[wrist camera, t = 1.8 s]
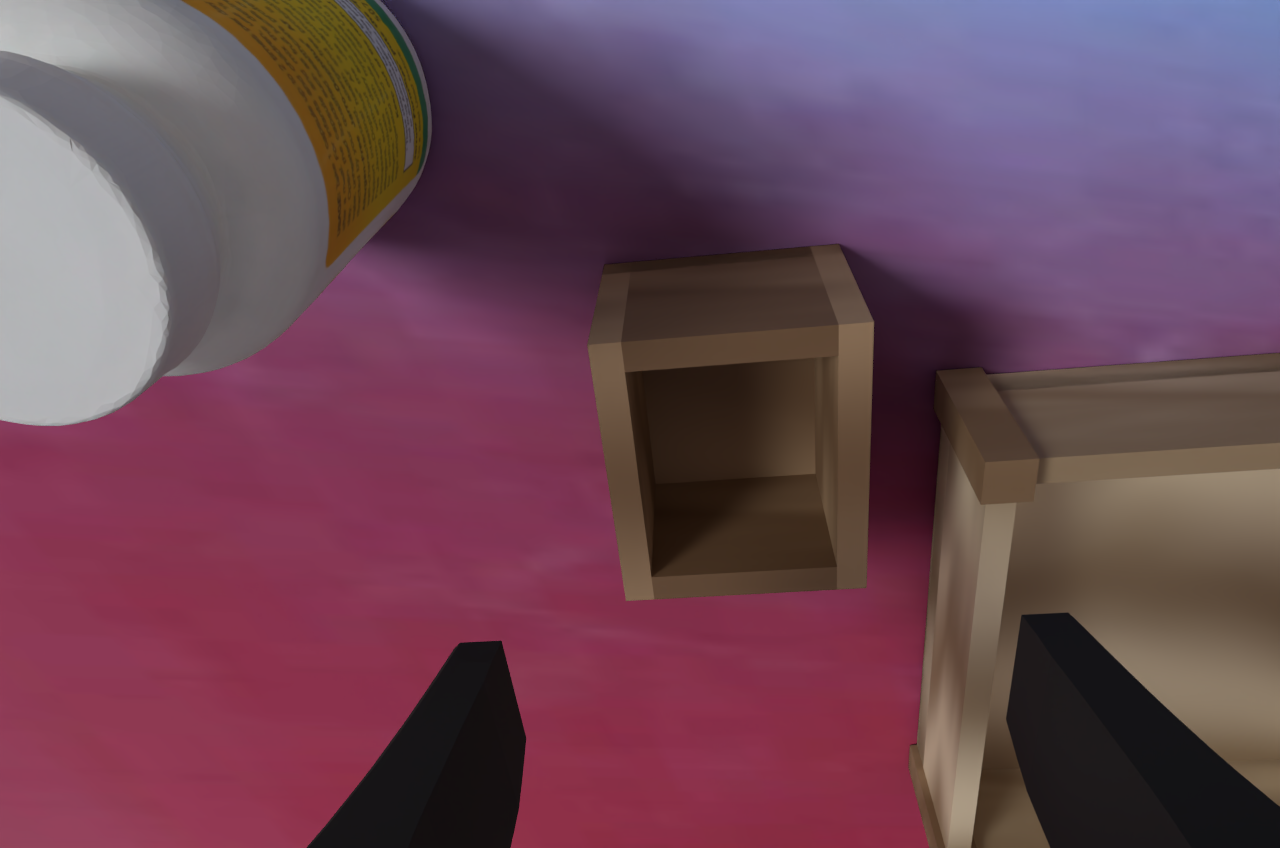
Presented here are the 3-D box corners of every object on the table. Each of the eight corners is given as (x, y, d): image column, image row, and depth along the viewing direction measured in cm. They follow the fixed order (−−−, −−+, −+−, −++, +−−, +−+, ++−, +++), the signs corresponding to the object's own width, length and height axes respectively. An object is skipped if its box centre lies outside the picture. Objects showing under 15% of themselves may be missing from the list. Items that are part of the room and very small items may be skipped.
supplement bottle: (363, 276, 20) (130, 553, 11) (129, 125, 18) (-335, 318, 10) (489, 68, 17) (314, 225, 9) (233, -125, 16) (-258, -148, 8)
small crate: (837, 478, 22) (866, 587, 18) (634, 491, 22) (625, 600, 19) (838, 244, 19) (873, 321, 15) (604, 264, 19) (587, 344, 16)
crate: (1349, 751, 26) (1445, 874, 23) (908, 766, 27) (939, 887, 24) (1537, 325, 19) (1715, 414, 16) (936, 370, 20) (985, 462, 17)
